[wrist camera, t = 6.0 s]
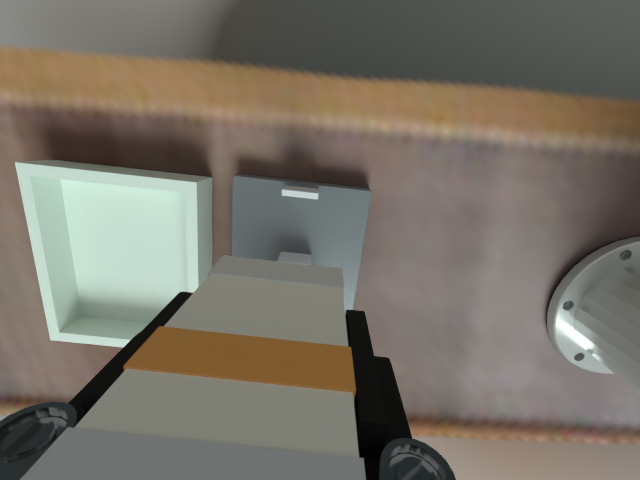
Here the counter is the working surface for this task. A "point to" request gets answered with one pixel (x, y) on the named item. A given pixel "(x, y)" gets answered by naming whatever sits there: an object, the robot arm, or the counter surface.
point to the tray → (113, 244)
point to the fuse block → (301, 224)
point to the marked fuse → (229, 388)
